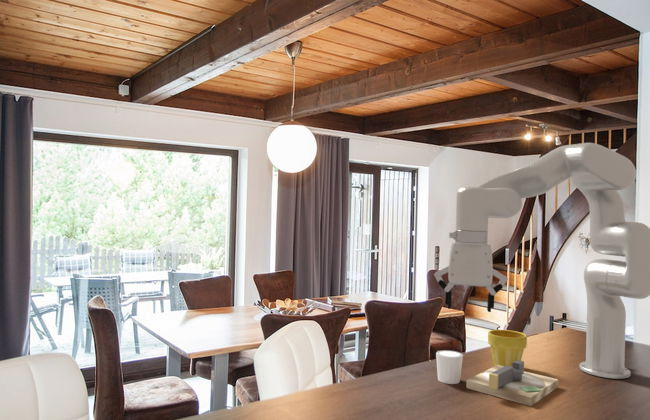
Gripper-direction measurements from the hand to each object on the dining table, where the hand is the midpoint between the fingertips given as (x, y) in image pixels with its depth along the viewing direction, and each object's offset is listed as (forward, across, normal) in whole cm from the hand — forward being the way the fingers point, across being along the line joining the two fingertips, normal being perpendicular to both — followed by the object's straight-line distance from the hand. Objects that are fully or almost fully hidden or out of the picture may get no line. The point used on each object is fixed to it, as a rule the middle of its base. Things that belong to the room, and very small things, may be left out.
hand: (469, 309), depth 122 cm
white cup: (+21, -4, +9) cm, 23 cm away
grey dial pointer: (+18, +10, +5) cm, 21 cm away
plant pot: (+21, +11, +26) cm, 34 cm away
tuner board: (+20, +11, +8) cm, 25 cm away
